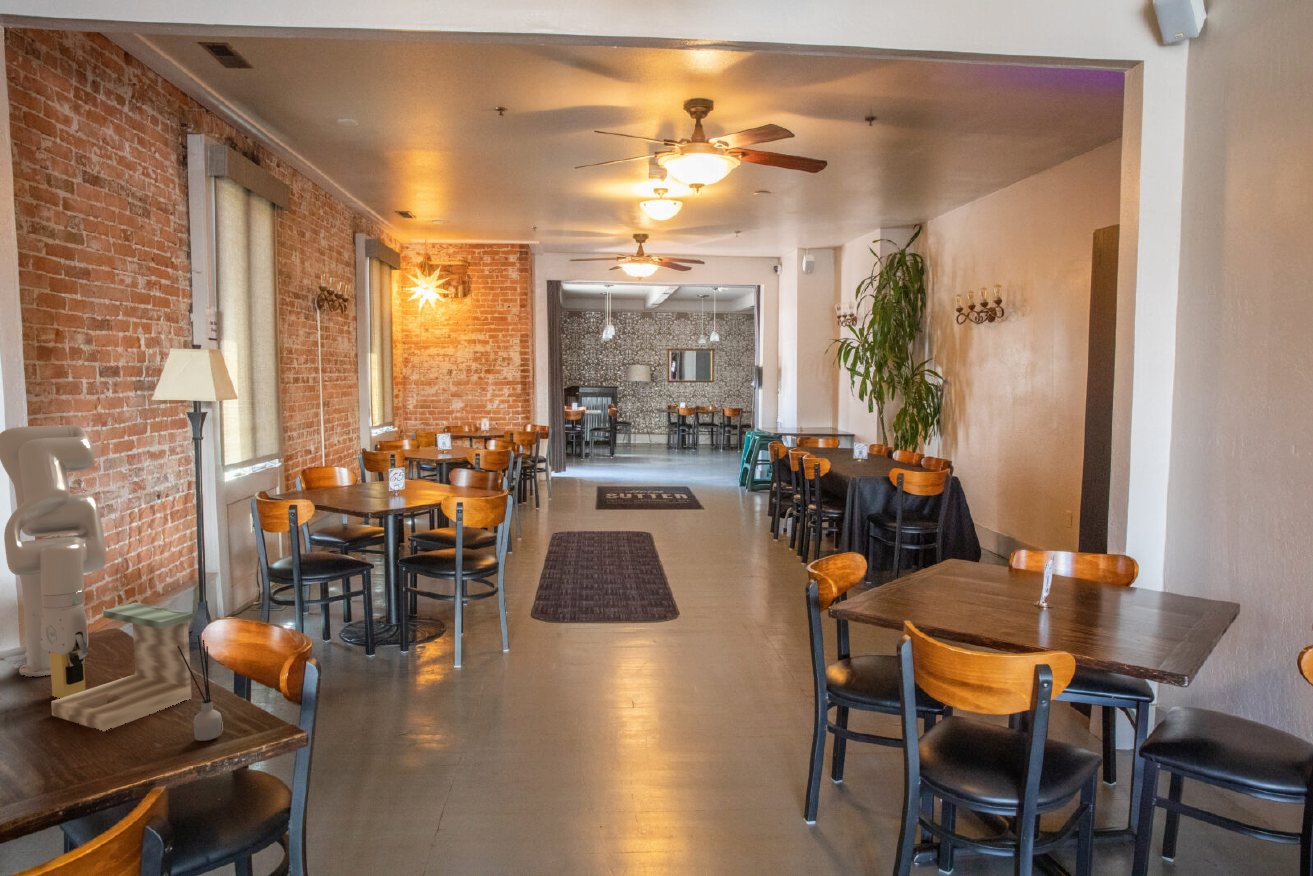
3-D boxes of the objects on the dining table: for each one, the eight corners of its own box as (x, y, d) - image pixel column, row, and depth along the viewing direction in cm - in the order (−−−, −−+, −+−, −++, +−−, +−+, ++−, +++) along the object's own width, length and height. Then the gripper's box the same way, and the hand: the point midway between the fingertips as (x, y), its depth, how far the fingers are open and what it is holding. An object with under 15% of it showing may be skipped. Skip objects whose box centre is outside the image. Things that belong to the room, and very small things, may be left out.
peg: (52, 696, 175) (49, 643, 174) (74, 689, 179) (71, 637, 178) (63, 700, 173) (60, 646, 172) (85, 692, 177) (82, 640, 176)
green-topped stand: (49, 714, 165) (44, 625, 164) (139, 684, 182) (135, 602, 181) (107, 732, 157) (102, 638, 155) (196, 698, 173) (192, 613, 172)
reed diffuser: (227, 743, 152) (223, 640, 150) (186, 754, 147) (181, 648, 146) (216, 726, 159) (212, 628, 158) (177, 735, 155) (172, 635, 154)
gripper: (22, 599, 175) (27, 680, 176) (67, 608, 167) (72, 693, 169) (60, 591, 181) (65, 669, 183) (104, 599, 174) (109, 681, 175)
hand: (68, 679), depth 176 cm, fingers closed on peg, 4 cm apart
